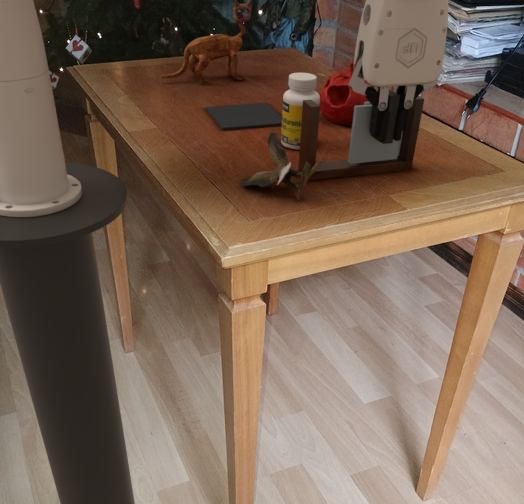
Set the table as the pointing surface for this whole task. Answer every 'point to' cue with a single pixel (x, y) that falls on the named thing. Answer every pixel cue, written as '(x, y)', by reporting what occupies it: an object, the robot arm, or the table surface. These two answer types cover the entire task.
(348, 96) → the pomegranate
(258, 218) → the table surface
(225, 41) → the cat figurine
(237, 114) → the rubber mat
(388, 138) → the sliding panel with handle
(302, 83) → the supplement bottle
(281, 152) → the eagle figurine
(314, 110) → the dark brown u-shaped frame
